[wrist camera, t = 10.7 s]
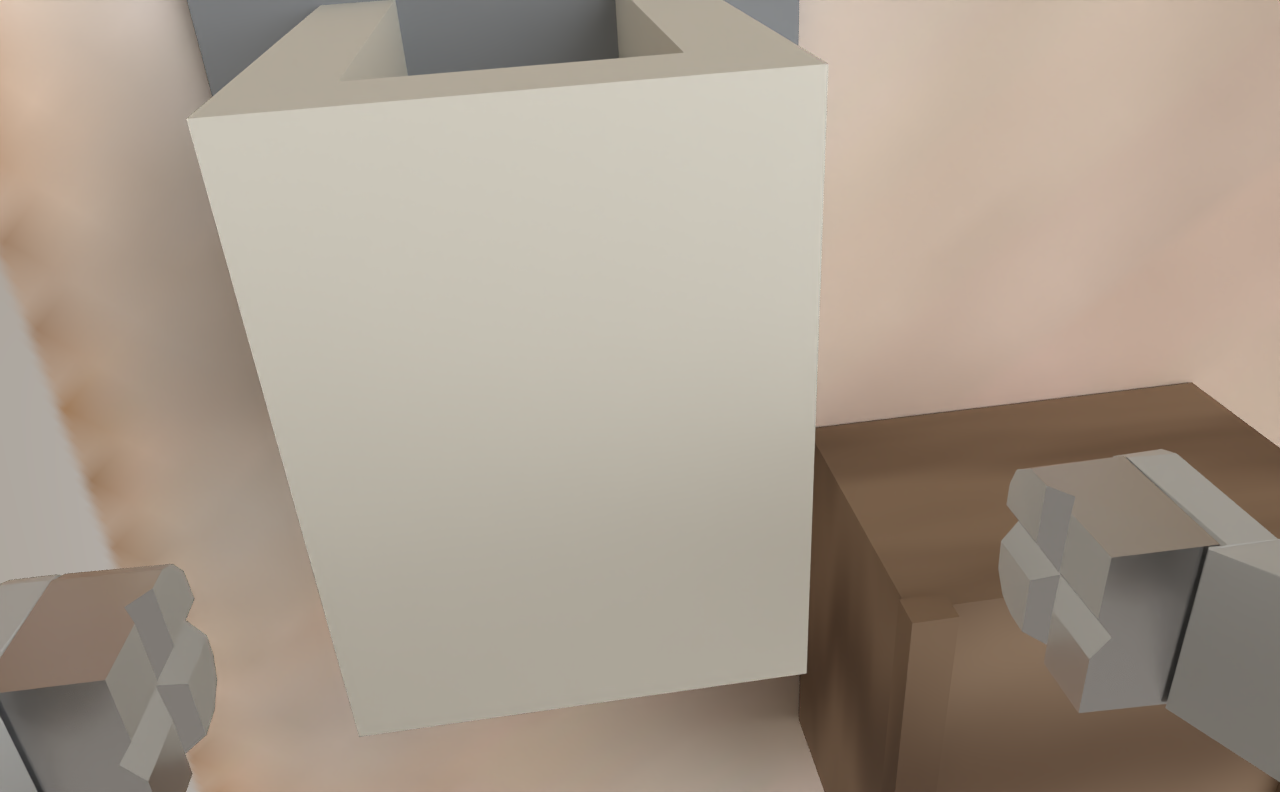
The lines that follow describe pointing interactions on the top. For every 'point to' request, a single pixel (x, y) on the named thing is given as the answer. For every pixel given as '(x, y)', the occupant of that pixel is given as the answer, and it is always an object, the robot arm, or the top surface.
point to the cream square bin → (536, 352)
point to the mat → (447, 31)
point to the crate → (988, 602)
